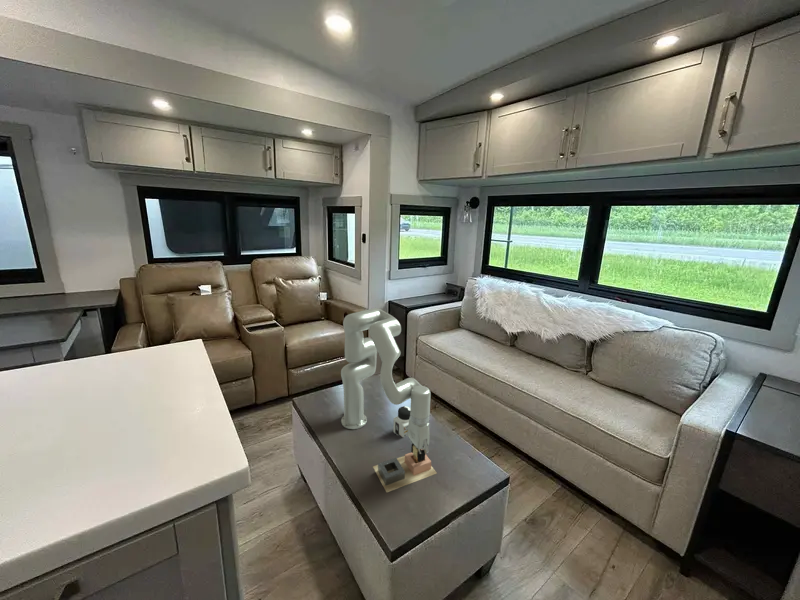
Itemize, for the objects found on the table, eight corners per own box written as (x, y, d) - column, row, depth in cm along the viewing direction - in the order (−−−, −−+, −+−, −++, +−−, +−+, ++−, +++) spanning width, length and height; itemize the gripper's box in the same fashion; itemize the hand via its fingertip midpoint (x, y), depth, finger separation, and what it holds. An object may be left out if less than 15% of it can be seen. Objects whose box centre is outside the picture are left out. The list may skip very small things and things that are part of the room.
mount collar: (377, 470, 132) (377, 463, 131) (395, 464, 136) (396, 457, 135) (385, 485, 125) (385, 478, 124) (404, 478, 129) (404, 471, 128)
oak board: (372, 469, 135) (372, 466, 134) (419, 453, 144) (419, 450, 144) (386, 495, 123) (386, 492, 122) (436, 476, 132) (437, 473, 132)
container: (403, 440, 152) (404, 416, 148) (392, 431, 158) (393, 408, 154) (415, 433, 157) (416, 410, 153) (405, 425, 162) (406, 402, 159)
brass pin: (412, 463, 136) (411, 445, 134) (418, 461, 137) (417, 443, 135) (416, 468, 134) (414, 450, 131) (422, 465, 135) (421, 447, 132)
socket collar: (404, 461, 137) (404, 454, 136) (421, 455, 141) (421, 448, 140) (413, 475, 130) (413, 468, 129) (431, 468, 134) (431, 461, 133)
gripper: (401, 407, 135) (400, 445, 140) (422, 432, 120) (420, 473, 125) (417, 403, 138) (416, 440, 143) (439, 427, 124) (436, 467, 129)
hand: (418, 455), depth 134 cm, fingers open, 4 cm apart
